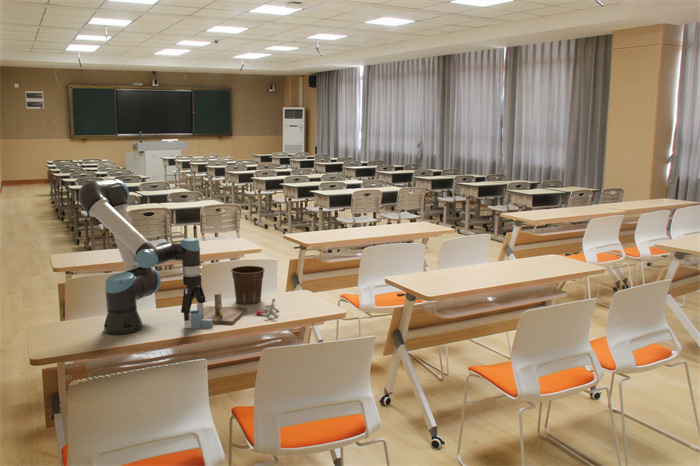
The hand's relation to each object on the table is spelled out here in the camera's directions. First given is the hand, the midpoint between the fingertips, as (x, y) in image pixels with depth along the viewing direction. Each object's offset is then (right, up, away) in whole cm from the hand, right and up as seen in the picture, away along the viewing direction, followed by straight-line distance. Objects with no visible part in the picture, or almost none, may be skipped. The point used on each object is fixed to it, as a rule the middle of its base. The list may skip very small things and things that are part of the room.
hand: (194, 323), depth 254 cm
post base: (+7, +1, +14) cm, 15 cm away
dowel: (+10, +1, +7) cm, 12 cm away
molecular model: (+29, +1, +16) cm, 34 cm away
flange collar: (+2, -1, 0) cm, 2 cm away
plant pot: (+17, +5, +38) cm, 42 cm away
